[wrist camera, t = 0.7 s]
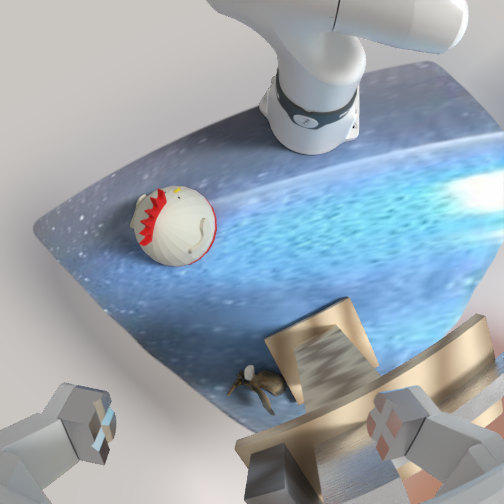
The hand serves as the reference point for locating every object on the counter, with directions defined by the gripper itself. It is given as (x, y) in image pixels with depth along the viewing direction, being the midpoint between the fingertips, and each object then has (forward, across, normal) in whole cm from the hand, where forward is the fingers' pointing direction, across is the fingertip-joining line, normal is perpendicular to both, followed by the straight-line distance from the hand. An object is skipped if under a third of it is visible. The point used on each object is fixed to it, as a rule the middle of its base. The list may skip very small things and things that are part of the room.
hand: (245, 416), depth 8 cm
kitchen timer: (+48, +9, +3) cm, 49 cm away
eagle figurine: (+39, -7, +29) cm, 49 cm away
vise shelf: (+38, -19, +21) cm, 48 cm away
